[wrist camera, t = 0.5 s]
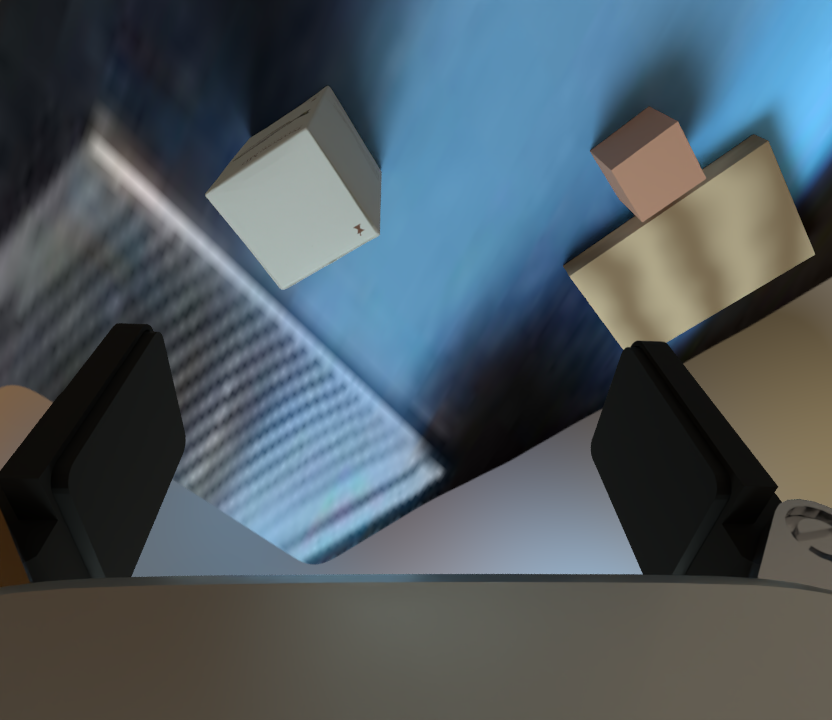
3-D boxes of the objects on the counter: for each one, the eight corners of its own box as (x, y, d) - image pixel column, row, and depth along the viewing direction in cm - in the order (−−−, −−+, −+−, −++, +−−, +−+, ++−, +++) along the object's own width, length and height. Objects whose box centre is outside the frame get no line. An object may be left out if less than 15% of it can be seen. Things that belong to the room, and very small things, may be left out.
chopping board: (625, 350, 54) (632, 362, 52) (563, 265, 48) (569, 276, 46) (800, 244, 48) (815, 254, 46) (753, 134, 42) (768, 140, 41)
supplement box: (329, 81, 39) (310, 122, 28) (383, 173, 43) (384, 238, 32) (246, 136, 40) (199, 193, 30) (305, 219, 44) (282, 295, 34)
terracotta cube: (648, 105, 41) (678, 121, 37) (676, 158, 43) (706, 178, 39) (589, 150, 42) (611, 170, 38) (619, 199, 45) (642, 222, 41)
